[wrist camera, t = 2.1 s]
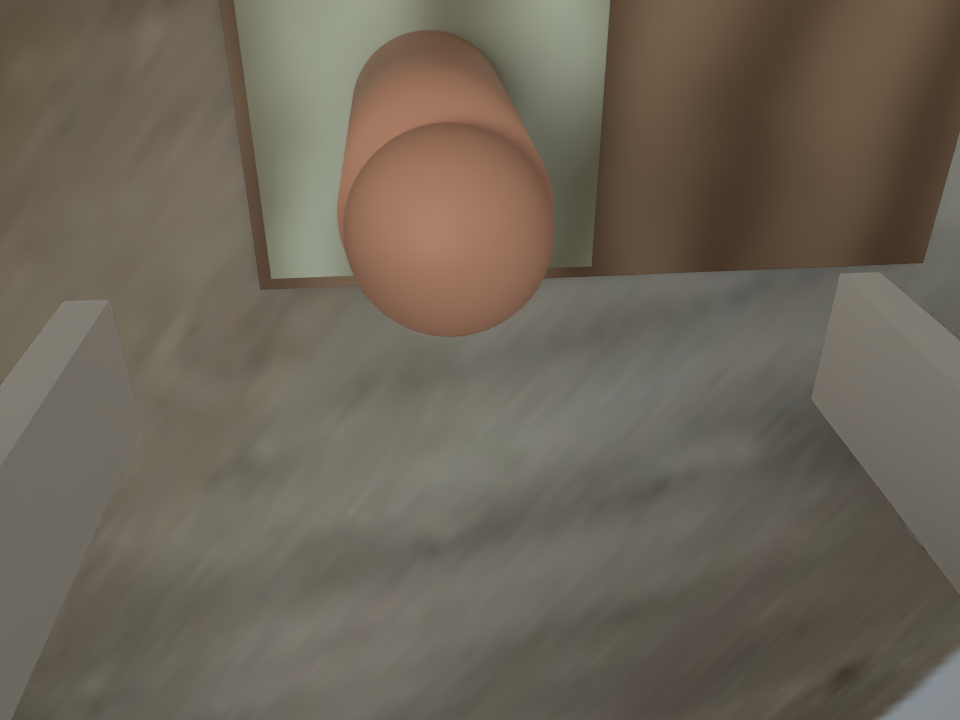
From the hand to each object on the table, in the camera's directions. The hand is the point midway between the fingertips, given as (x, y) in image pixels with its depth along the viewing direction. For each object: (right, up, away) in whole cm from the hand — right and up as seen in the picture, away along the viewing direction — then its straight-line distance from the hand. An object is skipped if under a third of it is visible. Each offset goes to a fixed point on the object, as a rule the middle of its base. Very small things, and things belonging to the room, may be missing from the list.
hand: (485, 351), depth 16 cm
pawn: (-2, +9, +16) cm, 18 cm away
